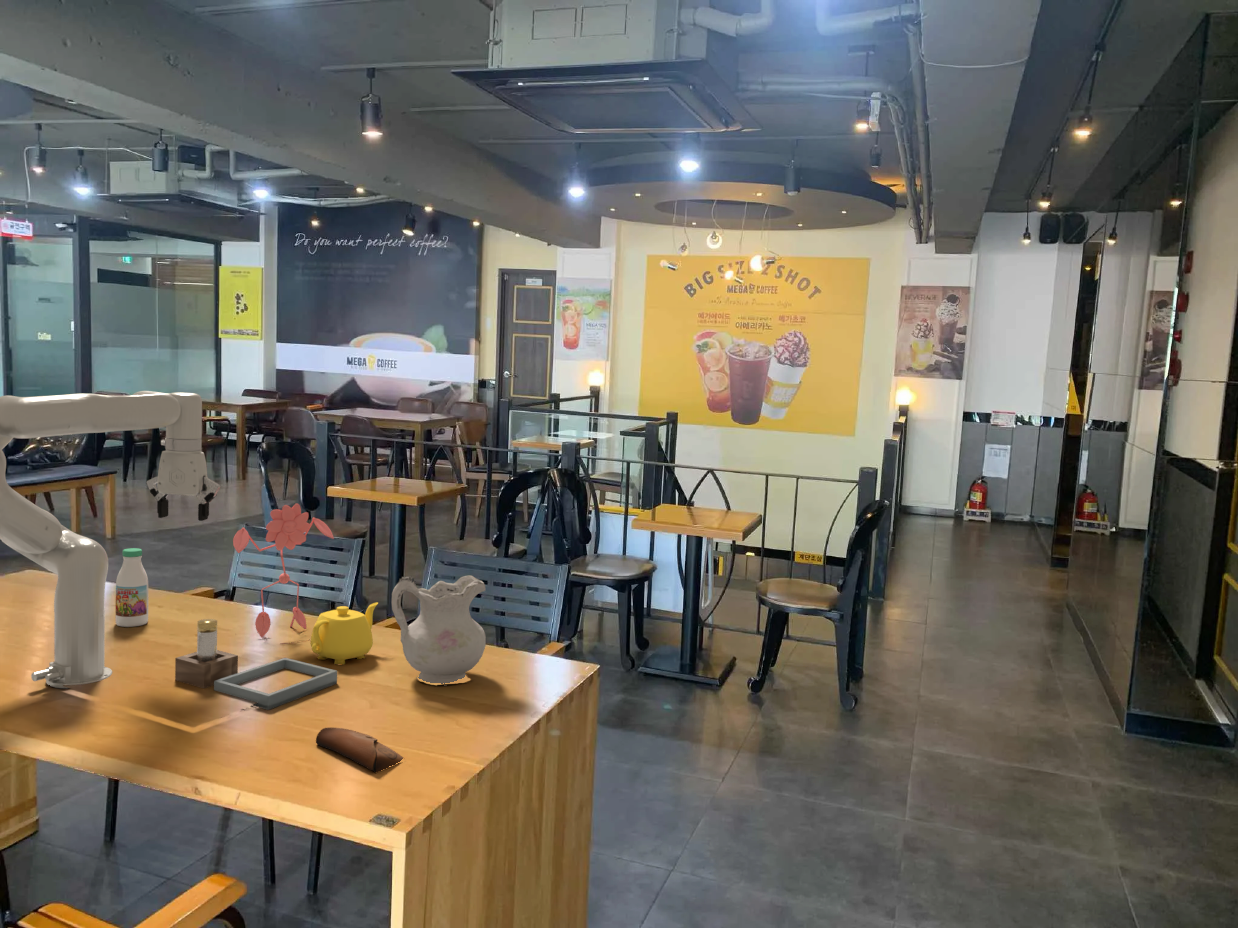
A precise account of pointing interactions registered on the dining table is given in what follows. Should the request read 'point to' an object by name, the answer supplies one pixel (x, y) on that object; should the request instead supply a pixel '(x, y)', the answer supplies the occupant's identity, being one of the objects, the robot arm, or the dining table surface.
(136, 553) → the milk bottle
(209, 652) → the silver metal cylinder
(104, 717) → the dining table surface
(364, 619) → the teapot
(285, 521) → the figurine
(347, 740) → the sunglasses case
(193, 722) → the dining table surface
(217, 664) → the holder block
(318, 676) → the tray
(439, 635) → the ceramic pitcher
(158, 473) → the robot arm
